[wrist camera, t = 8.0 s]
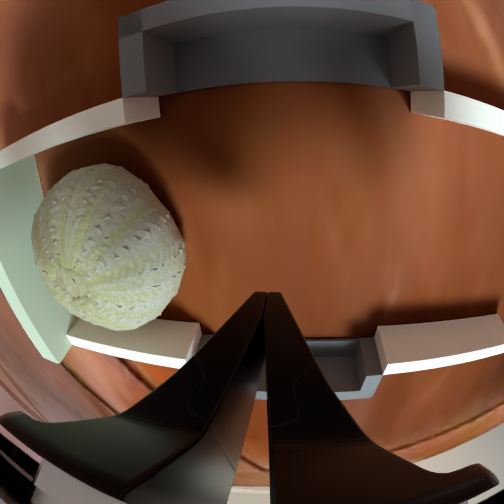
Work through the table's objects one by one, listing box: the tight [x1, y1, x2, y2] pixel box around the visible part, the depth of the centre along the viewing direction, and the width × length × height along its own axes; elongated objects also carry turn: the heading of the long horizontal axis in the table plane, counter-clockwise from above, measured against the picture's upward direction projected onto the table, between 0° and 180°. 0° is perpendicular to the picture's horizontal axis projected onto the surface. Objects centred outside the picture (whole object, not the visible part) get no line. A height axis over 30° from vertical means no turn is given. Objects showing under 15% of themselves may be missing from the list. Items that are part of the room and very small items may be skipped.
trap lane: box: [0, 0, 504, 400], centre depth 11 cm, size 31×20×3 cm, turn 95°
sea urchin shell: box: [31, 163, 187, 331], centre depth 13 cm, size 9×8×8 cm
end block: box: [0, 154, 79, 364], centre depth 13 cm, size 2×14×5 cm, turn 5°
